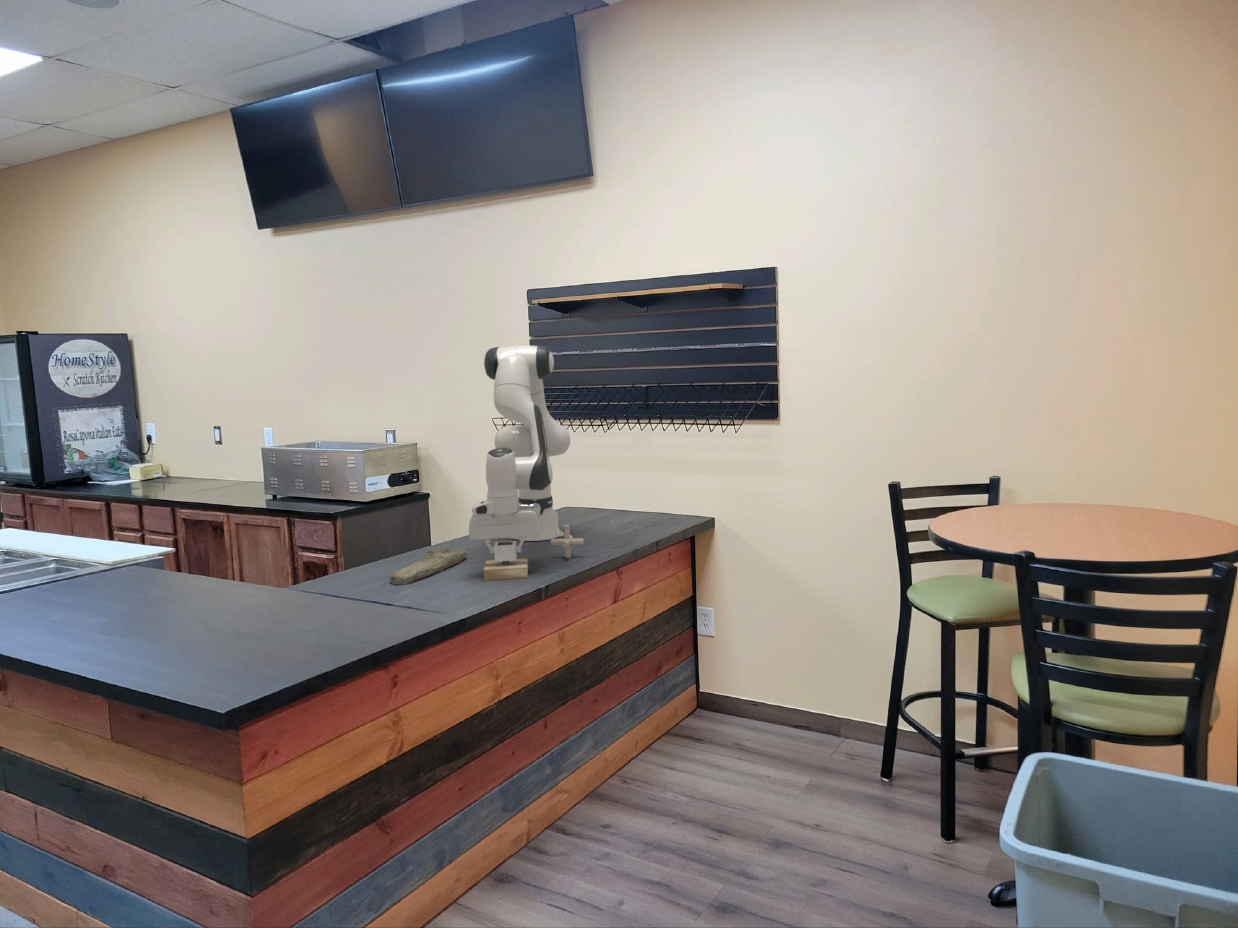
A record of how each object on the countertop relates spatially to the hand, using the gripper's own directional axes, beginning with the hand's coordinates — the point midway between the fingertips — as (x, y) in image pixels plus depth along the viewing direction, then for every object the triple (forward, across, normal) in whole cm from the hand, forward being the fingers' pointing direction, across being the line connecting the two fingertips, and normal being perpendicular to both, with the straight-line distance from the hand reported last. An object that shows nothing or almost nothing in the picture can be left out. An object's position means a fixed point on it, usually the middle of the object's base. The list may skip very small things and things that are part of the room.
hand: (505, 552), depth 245 cm
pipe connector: (+6, -18, -17) cm, 26 cm away
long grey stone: (+7, +23, -10) cm, 26 cm away
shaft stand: (+6, 0, 0) cm, 6 cm away
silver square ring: (+2, 0, 0) cm, 2 cm away
